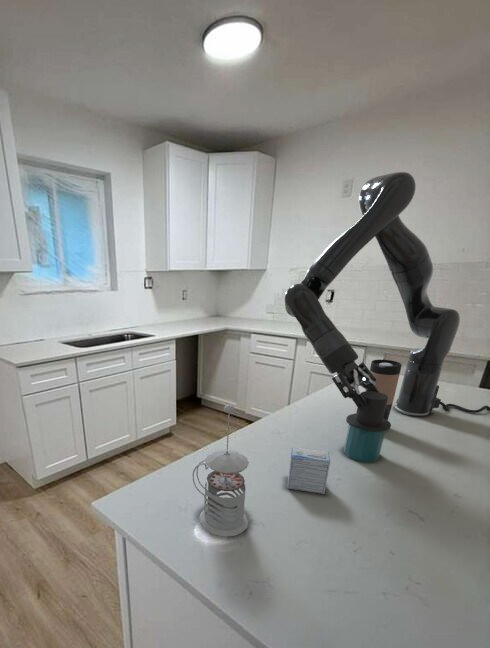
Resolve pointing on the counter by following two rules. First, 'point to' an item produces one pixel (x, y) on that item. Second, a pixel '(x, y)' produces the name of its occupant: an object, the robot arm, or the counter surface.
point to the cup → (363, 444)
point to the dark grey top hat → (371, 413)
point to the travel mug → (386, 380)
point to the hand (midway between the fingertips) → (372, 404)
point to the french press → (224, 512)
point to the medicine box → (308, 470)
